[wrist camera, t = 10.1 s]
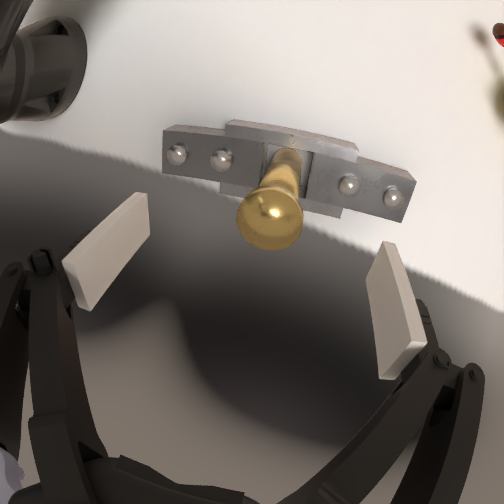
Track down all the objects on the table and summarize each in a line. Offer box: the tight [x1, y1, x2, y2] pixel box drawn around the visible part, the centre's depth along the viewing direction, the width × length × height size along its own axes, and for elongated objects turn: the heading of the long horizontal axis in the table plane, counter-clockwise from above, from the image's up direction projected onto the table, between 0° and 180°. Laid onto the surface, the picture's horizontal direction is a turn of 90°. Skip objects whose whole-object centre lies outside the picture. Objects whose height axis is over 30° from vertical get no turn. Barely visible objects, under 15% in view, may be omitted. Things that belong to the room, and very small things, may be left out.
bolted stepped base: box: [162, 120, 417, 223], centre depth 26 cm, size 25×7×4 cm, turn 83°
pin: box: [237, 148, 303, 250], centre depth 22 cm, size 4×4×13 cm
